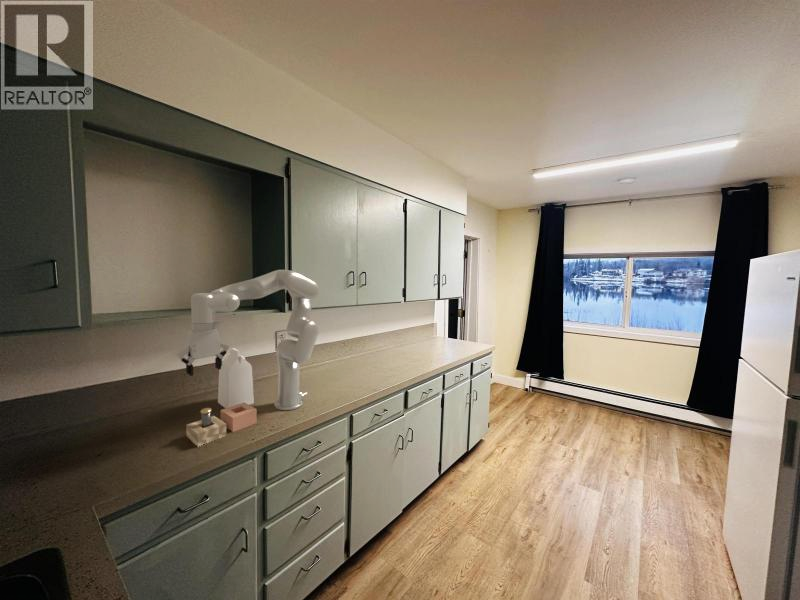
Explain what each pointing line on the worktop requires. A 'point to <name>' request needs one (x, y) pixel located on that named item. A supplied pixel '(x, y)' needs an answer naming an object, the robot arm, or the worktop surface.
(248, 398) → the milk
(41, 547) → the worktop surface
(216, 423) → the mount
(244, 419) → the dock
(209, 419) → the pin
